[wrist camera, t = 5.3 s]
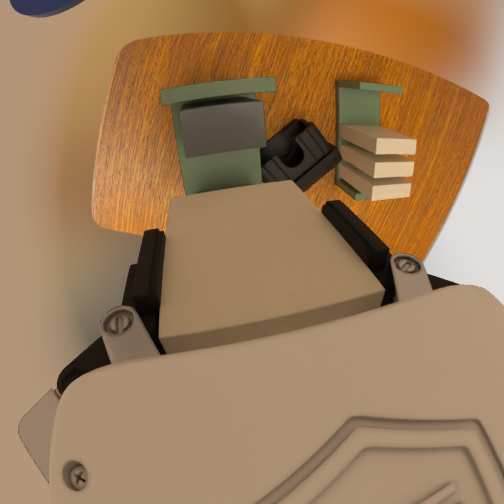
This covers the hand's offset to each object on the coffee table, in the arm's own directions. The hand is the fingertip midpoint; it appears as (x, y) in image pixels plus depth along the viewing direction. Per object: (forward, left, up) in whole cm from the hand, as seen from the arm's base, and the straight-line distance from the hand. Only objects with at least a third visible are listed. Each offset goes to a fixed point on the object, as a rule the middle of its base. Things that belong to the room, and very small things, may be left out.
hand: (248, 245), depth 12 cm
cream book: (0, 0, -4) cm, 4 cm away
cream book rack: (+1, +21, -27) cm, 34 cm away
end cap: (+4, +10, -27) cm, 30 cm away
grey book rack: (0, 0, -27) cm, 27 cm away
